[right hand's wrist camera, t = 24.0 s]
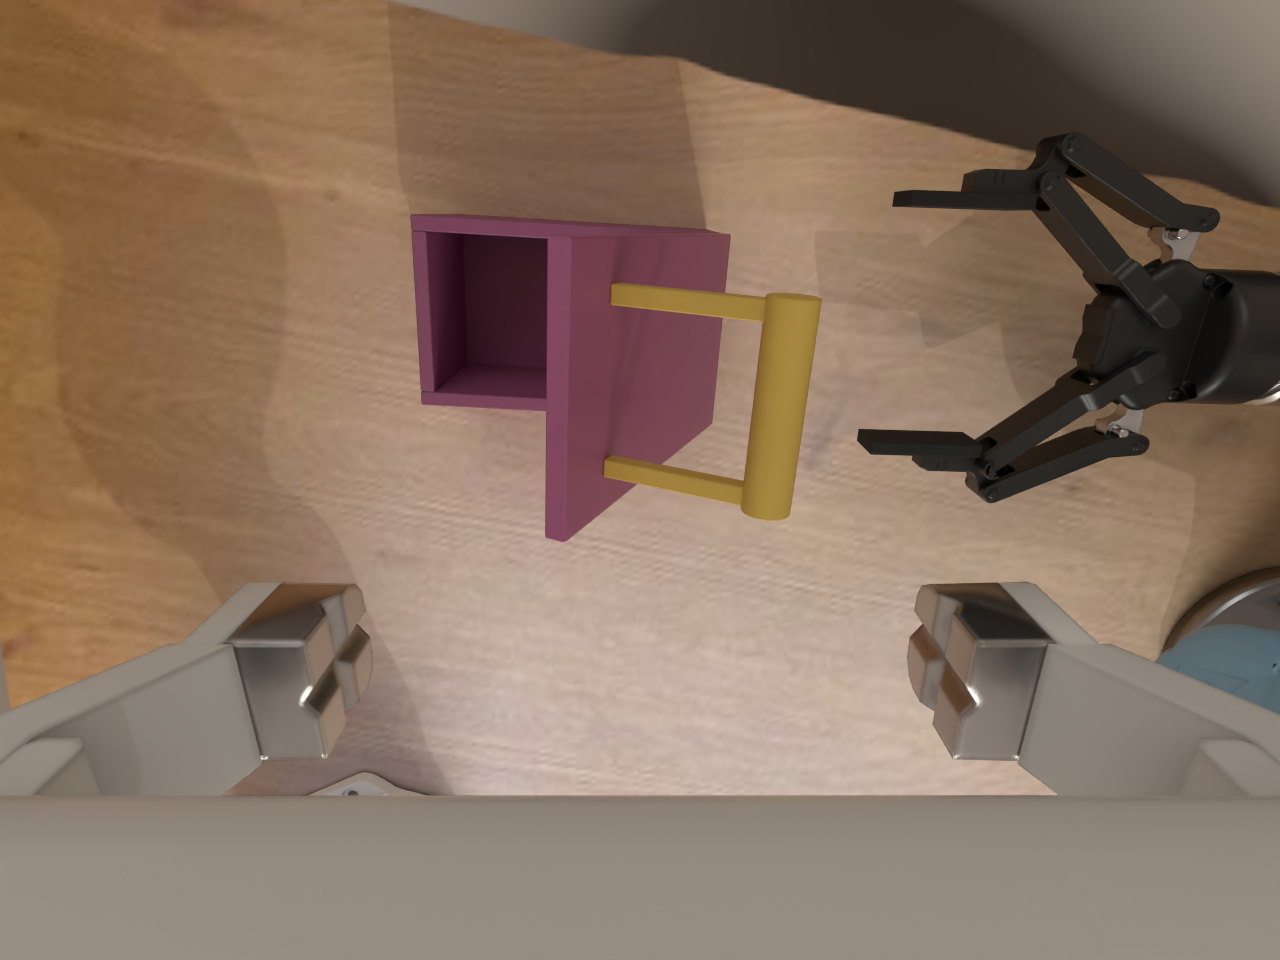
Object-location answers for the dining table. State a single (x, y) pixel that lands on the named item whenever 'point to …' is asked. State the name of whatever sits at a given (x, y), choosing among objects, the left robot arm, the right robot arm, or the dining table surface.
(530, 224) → the chest
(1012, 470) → the left robot arm
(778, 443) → the lid
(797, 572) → the dining table surface
